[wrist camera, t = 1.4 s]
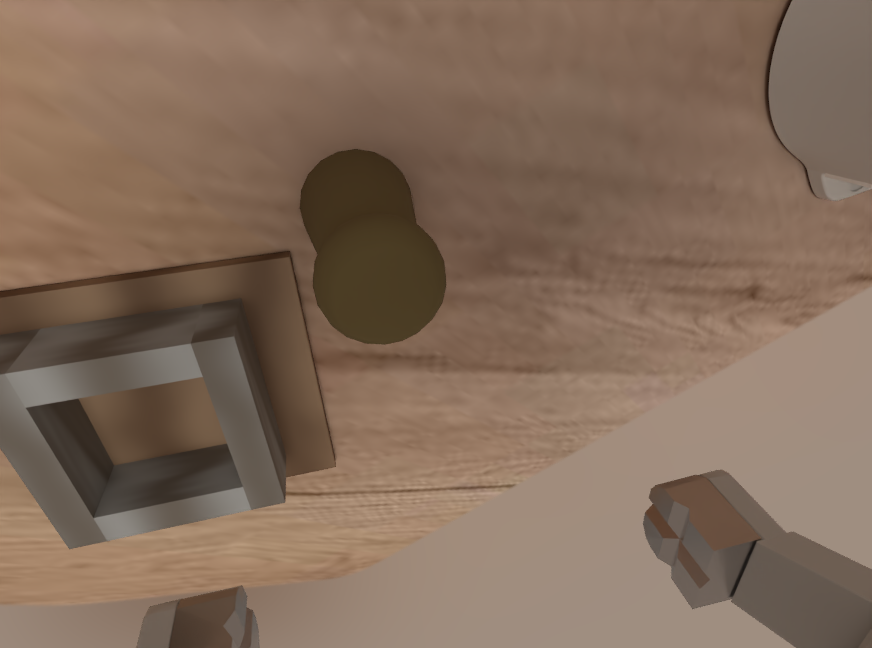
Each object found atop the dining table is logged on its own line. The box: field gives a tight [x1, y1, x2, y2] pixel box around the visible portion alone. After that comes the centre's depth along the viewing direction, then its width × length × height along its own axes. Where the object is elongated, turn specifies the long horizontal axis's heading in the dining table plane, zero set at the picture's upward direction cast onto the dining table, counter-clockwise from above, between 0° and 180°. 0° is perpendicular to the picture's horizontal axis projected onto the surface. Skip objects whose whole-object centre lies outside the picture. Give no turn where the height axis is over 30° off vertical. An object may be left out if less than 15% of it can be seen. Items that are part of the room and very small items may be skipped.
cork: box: [300, 149, 446, 344], centre depth 24 cm, size 6×6×11 cm
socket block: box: [0, 251, 336, 549], centre depth 29 cm, size 18×16×5 cm
